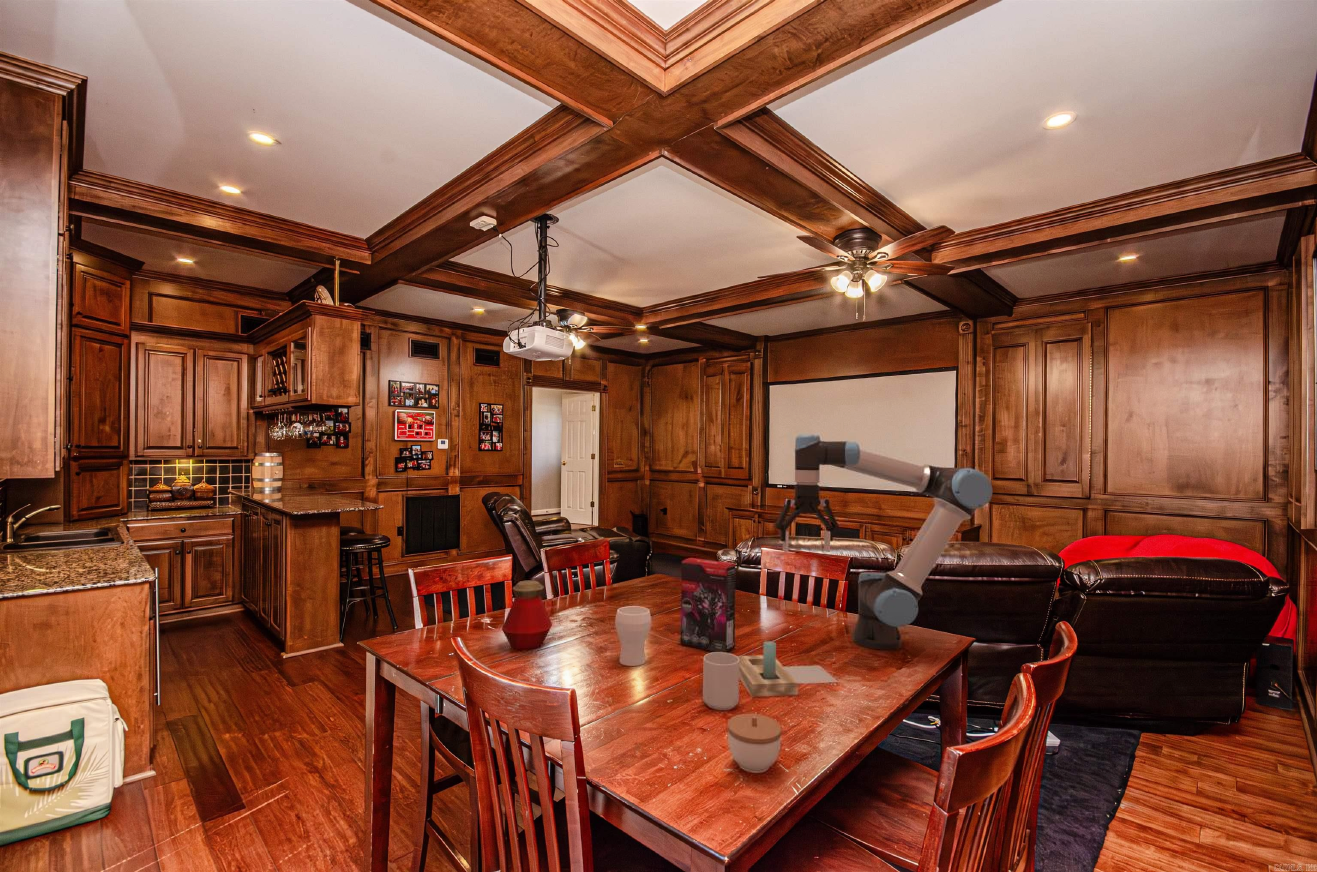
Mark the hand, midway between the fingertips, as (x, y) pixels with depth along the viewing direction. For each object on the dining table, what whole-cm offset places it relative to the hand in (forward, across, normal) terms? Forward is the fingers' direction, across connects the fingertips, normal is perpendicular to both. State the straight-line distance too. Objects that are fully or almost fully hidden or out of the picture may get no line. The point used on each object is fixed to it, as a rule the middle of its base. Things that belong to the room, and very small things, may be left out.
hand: (806, 551), depth 179 cm
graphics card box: (+32, +30, -8) cm, 44 cm away
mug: (+32, +34, +30) cm, 56 cm away
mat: (+32, +6, +17) cm, 36 cm away
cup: (+32, +54, +2) cm, 63 cm away
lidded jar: (+32, +35, +60) cm, 76 cm away
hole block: (+32, +20, +20) cm, 42 cm away
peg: (+32, +20, +25) cm, 45 cm away
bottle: (+32, +86, -15) cm, 93 cm away
